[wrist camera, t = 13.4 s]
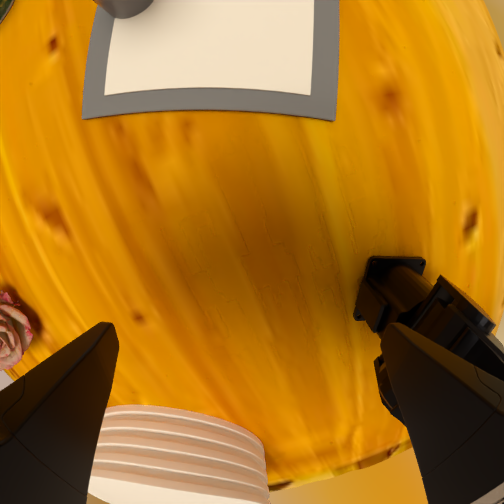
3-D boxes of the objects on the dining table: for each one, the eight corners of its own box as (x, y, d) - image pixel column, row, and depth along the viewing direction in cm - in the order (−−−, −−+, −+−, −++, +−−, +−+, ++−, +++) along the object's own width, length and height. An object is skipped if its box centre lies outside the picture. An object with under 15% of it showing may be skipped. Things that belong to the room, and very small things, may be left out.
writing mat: (335, -20, 12) (339, -25, 11) (332, 121, 18) (336, 120, 17) (108, -20, 11) (104, -24, 10) (85, 119, 16) (79, 119, 15)
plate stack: (267, 405, 30) (279, 488, 19) (261, 475, 41) (266, 522, 31) (64, 390, 28) (38, 453, 17) (126, 467, 39) (119, 511, 29)
